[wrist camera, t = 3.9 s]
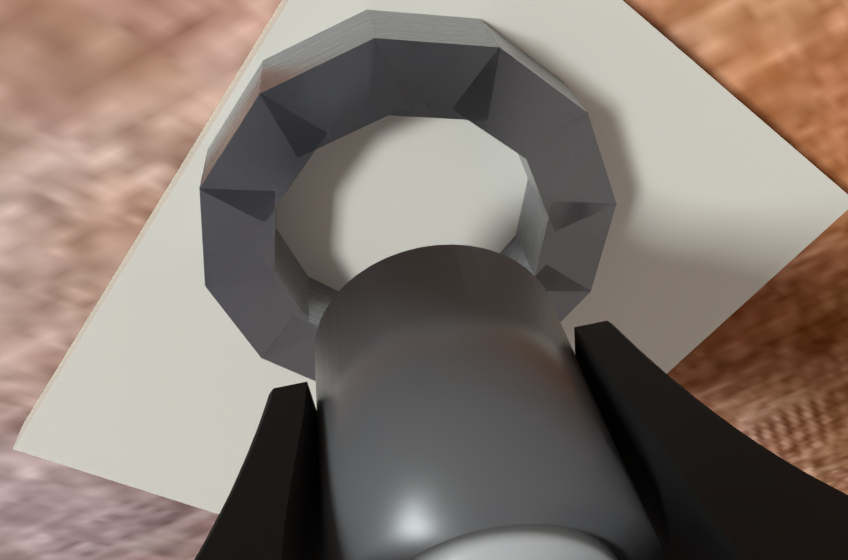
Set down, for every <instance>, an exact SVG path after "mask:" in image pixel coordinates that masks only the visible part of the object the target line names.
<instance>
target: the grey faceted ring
mask: <svg viewBox="0 0 848 560" xmlns="http://www.w3.org/2000/svg"><path fill="white" fill-rule="evenodd" d="M388 115H391V116H409V117H427V118H445V119H463V120H469V121H470V122H472V123H473V124H475V125H476V126H478V127H479V128H481V129H482V130H484V131H485V132H487V133H488V134H490V135H491V136H493V137H494V138H496V139H497V140H499V141H500V142H502V143H503V144H505V145H506V146H507V147H509V148H510V149H512V150H513V151H515V152H516V153H518V155H519V157H520V160H521V162H522V165H523V168H524V170H525V173H526V175H527V178H528V180H527V185H526V189H525V194H524V199H523V203H522V208H521V213H520V217H519V222H518V227H517V231H516V235H515V236H514V237H513V239H512V240H511V241H510V242H509V243H508V244H507V245H506V247H505V248H504V249H503V250H502V251H501V252H500V254H503V255H505V256H507V257H509V258H511V259H513V260H515V261H516V262H518V263H519V264H521V265H522V266H524V267H525V268H527V269H528V270H529V271H530V272H531V273H532V274H533V275H534V276H535V277H536V278H537V279H538V280H539V282H540V283H541V284H542V286H543V287H544V289H545V290H546V292H547V294H548V296H549V298H550V300H551V302H552V304H553V307H554V309H555V311H556V313H557V316H558V318H559V320H560V322H561V321H562V320H563V319H564V318H565V317H566V316H567V315H568V314H569V313H570V312H571V311H572V310H573V309H574V308H575V307H576V306H577V305H578V304H579V303H580V302H581V301H582V300H583V299H584V298H585V297H586V296H587V295H588V294H589V293H590V292H591V289H592V285H593V282H594V279H595V275H596V272H597V268H598V265H599V262H600V258H601V255H602V251H603V248H604V245H605V241H606V238H607V235H608V231H609V228H610V224H611V221H612V218H613V214H614V211H615V207H616V205H617V203H616V201H615V198H614V194H613V191H612V188H611V185H610V182H609V179H608V175H607V172H606V169H605V166H604V163H603V160H602V156H601V153H600V150H599V147H598V144H597V140H596V137H595V134H594V131H593V128H592V125H591V121H590V118H589V115H588V112H587V111H586V110H585V108H584V107H583V106H582V105H581V103H580V102H579V101H578V100H577V98H576V97H575V96H574V95H573V93H572V92H571V91H570V90H569V88H568V87H567V86H566V85H565V83H564V82H563V81H562V80H561V79H559V78H558V77H557V76H555V75H554V74H553V73H551V72H550V71H549V70H548V69H546V68H545V67H544V66H542V65H541V64H540V63H538V62H537V61H536V60H534V59H533V58H532V57H530V56H529V55H528V54H526V53H525V52H524V51H522V50H521V49H520V48H518V47H517V46H516V45H514V44H513V43H512V42H510V41H509V40H508V39H506V38H505V37H504V36H502V35H501V34H500V33H499V32H497V31H496V30H495V29H493V28H492V27H491V26H489V25H488V24H487V23H485V22H484V21H483V20H481V19H477V18H465V17H453V16H440V15H428V14H416V13H403V12H391V11H378V10H365V11H363V12H361V13H359V14H356V15H354V16H352V17H350V18H348V19H346V20H344V21H342V22H340V23H338V24H336V25H334V26H332V27H330V28H328V29H326V30H324V31H322V32H320V33H318V34H316V35H314V36H312V37H309V38H307V39H305V40H303V41H301V42H299V43H297V44H295V45H293V46H291V47H289V48H287V49H285V50H283V51H281V52H279V53H277V54H275V55H273V56H271V57H269V58H267V59H265V60H263V61H262V63H261V64H260V66H259V68H258V69H257V71H256V72H255V74H254V76H253V77H252V79H251V80H250V82H249V84H248V85H247V87H246V88H245V90H244V92H243V93H242V95H241V97H240V98H239V100H238V101H237V103H236V105H235V106H234V108H233V109H232V111H231V113H230V114H229V116H228V117H227V119H226V121H225V122H224V124H223V125H222V127H221V129H220V130H219V132H218V134H217V135H216V137H215V138H214V140H213V142H212V143H211V145H210V146H209V148H208V150H207V155H206V160H205V164H204V169H203V174H202V178H201V183H200V188H199V190H200V208H201V225H202V243H203V260H204V278H205V287H206V288H207V289H208V291H209V292H210V293H211V294H212V296H213V297H214V298H215V300H216V301H217V302H218V303H219V305H220V306H221V307H222V308H223V310H224V311H225V312H226V314H227V315H228V316H229V317H230V319H231V320H232V321H233V323H234V324H235V325H236V326H237V328H238V329H239V330H240V331H241V333H242V334H243V335H244V337H245V338H246V339H247V340H248V342H249V343H250V344H251V346H252V347H253V348H254V349H255V351H256V352H257V353H258V354H259V356H260V357H261V358H262V359H264V360H267V361H269V362H272V363H274V364H276V365H279V366H281V367H283V368H286V369H288V370H290V371H293V372H295V373H297V374H300V375H302V376H304V377H307V378H309V379H311V380H314V381H316V379H315V352H314V345H315V337H316V332H317V329H318V325H319V322H320V320H321V318H322V316H323V314H324V312H325V309H326V308H327V306H328V305H329V303H330V302H331V301H332V299H333V298H334V296H335V295H336V294H337V293H338V292H339V291H337V290H335V289H333V288H331V287H328V286H326V285H324V284H322V283H320V282H318V281H316V280H314V279H312V278H310V277H308V275H307V274H306V272H305V271H304V269H303V268H302V266H301V265H300V263H299V262H298V260H297V259H296V257H295V256H294V254H293V253H292V251H291V250H290V248H289V247H288V245H287V244H286V242H285V241H284V239H283V238H282V236H281V235H280V233H279V232H278V230H277V229H276V206H277V205H278V203H279V202H280V201H281V199H282V198H283V196H284V195H285V193H286V192H287V190H288V189H289V188H290V186H291V185H292V183H293V182H294V180H295V179H296V178H297V176H298V175H299V173H300V172H301V170H302V169H303V167H304V166H305V165H306V163H307V162H308V160H309V159H310V157H311V156H312V155H313V153H314V152H315V150H316V149H318V148H320V147H322V146H324V145H326V144H329V143H331V142H333V141H335V140H337V139H339V138H341V137H343V136H346V135H348V134H350V133H352V132H354V131H356V130H358V129H361V128H363V127H365V126H367V125H369V124H371V123H373V122H376V121H378V120H380V119H382V118H384V117H386V116H388Z"/></svg>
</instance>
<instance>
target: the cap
mask: <svg viewBox="0 0 848 560" xmlns="http://www.w3.org/2000/svg"><path fill="white" fill-rule="evenodd" d="M314 352H315V379H316V406H317V432H318V459H319V486H320V513H321V540H322V560H664V555H663V551H662V548H661V544H660V542H659V540H658V537H657V535H656V533H655V531H654V529H653V526H652V524H651V522H650V520H649V517H648V515H647V513H646V511H645V509H644V506H643V504H642V502H641V500H640V497H639V495H638V493H637V491H636V489H635V486H634V484H633V482H632V480H631V478H630V475H629V473H628V471H627V469H626V466H625V464H624V462H623V460H622V458H621V455H620V453H619V451H618V449H617V446H616V444H615V442H614V440H613V438H612V435H611V433H610V431H609V429H608V426H607V424H606V422H605V420H604V418H603V415H602V413H601V411H600V409H599V407H598V404H597V402H596V400H595V398H594V395H593V393H592V391H591V389H590V387H589V384H588V382H587V380H586V378H585V375H584V373H583V371H582V369H581V367H580V364H579V362H578V360H577V358H576V356H575V353H574V351H573V349H572V347H571V344H570V342H569V340H568V338H567V336H566V333H565V331H564V329H563V327H562V324H561V322H560V320H559V318H558V316H557V313H556V311H555V309H554V307H553V304H552V302H551V300H550V298H549V296H548V294H547V292H546V290H545V289H544V287H543V286H542V284H541V283H540V282H539V280H538V279H537V278H536V277H535V276H534V275H533V274H532V273H531V272H530V271H529V270H528V269H527V268H525V267H524V266H522V265H521V264H519V263H518V262H516V261H515V260H513V259H511V258H509V257H507V256H505V255H503V254H500V253H497V252H494V251H491V250H488V249H485V248H480V247H474V246H468V245H455V244H450V245H433V246H426V247H419V248H415V249H411V250H407V251H404V252H400V253H398V254H395V255H392V256H390V257H387V258H385V259H383V260H381V261H379V262H377V263H375V264H373V265H371V266H369V267H368V268H366V269H365V270H363V271H362V272H360V273H359V274H357V275H356V276H355V277H354V278H352V279H351V280H350V281H349V282H348V283H347V284H345V285H344V286H343V287H342V289H341V290H340V291H339V292H338V293H337V294H336V295H335V296H334V298H333V299H332V301H331V302H330V303H329V305H328V306H327V308H326V309H325V312H324V314H323V316H322V318H321V320H320V322H319V325H318V329H317V332H316V337H315V345H314Z"/></svg>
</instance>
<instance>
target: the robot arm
mask: <svg viewBox="0 0 848 560" xmlns="http://www.w3.org/2000/svg"><path fill="white" fill-rule="evenodd" d="M574 337H575V356H576V358H577V360H578V362H579V364H580V367H581V369H582V371H583V373H584V375H585V378H586V380H587V382H588V384H589V387H590V389H591V391H592V393H593V395H594V398H595V400H596V402H597V404H598V407H599V409H600V411H601V413H602V415H603V418H604V420H605V422H606V424H607V426H608V429H609V431H610V433H611V435H612V438H613V440H614V442H615V444H616V446H617V449H618V451H619V453H620V455H621V458H622V460H623V462H624V464H625V466H626V469H627V471H628V473H629V475H630V478H631V480H632V482H633V484H634V486H635V489H636V491H637V493H638V495H639V497H640V500H641V502H642V504H643V506H644V509H645V511H646V513H647V515H648V517H649V520H650V522H651V524H652V526H653V529H654V531H655V533H656V535H657V537H658V540H659V542H660V544H661V548H662V551H663V555H664V560H848V495H846V494H844V493H843V492H841V491H839V490H837V489H835V488H833V487H831V486H829V485H827V484H825V483H824V482H822V481H820V480H818V479H816V478H814V477H812V476H810V475H808V474H807V473H805V472H803V471H802V470H800V469H798V468H797V467H795V466H793V465H791V464H790V463H788V462H786V461H785V460H783V459H781V458H780V457H778V456H777V455H775V454H774V453H772V452H770V451H769V450H767V449H766V448H764V447H763V446H761V445H759V444H758V443H756V442H755V441H754V440H752V439H751V438H749V437H748V436H746V435H745V434H743V433H742V432H740V431H739V430H738V429H736V428H735V427H733V426H732V425H731V424H729V423H728V422H727V421H725V420H724V419H723V418H721V417H720V416H718V415H717V414H716V413H714V412H713V411H712V410H710V409H709V408H708V407H707V406H705V405H704V404H703V403H701V402H700V401H699V400H698V399H696V398H695V397H694V396H693V395H691V394H690V393H689V392H688V391H687V390H685V389H684V388H683V387H682V386H681V385H679V384H678V383H677V382H676V381H674V380H673V379H672V378H671V377H670V376H669V375H667V374H666V373H665V372H664V371H663V370H662V369H660V368H659V367H658V366H657V365H656V364H655V363H654V362H653V361H652V360H650V359H649V358H648V357H647V356H646V355H645V354H644V353H643V352H642V351H640V350H639V349H638V348H637V347H636V346H635V345H634V344H633V343H632V342H631V341H630V340H629V339H628V338H627V337H626V336H625V335H623V334H622V333H621V332H620V331H619V330H618V329H617V328H616V327H615V326H614V325H613V324H612V323H610V322H609V321H602V322H598V323H593V324H588V325H583V326H578V327H574ZM195 560H322V540H321V513H320V486H319V459H318V432H317V410H316V407H315V404H314V401H313V398H312V395H311V392H310V389H309V386H308V383H307V382H302V383H297V384H292V385H287V386H283V387H278V388H273V390H272V391H271V392H270V394H269V396H268V399H267V402H266V405H265V408H264V411H263V414H262V417H261V420H260V423H259V425H258V428H257V431H256V433H255V436H254V438H253V441H252V443H251V446H250V448H249V451H248V453H247V456H246V458H245V460H244V462H243V465H242V467H241V469H240V472H239V474H238V476H237V478H236V481H235V483H234V485H233V487H232V490H231V492H230V494H229V496H228V498H227V500H226V502H225V504H224V506H223V508H222V510H221V512H220V514H219V515H218V517H217V519H216V521H215V523H214V525H213V527H212V529H211V531H210V533H209V535H208V537H207V539H206V540H205V542H204V544H203V546H202V547H201V549H200V551H199V553H198V554H197V556H196V558H195Z"/></svg>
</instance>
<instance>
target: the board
mask: <svg viewBox="0 0 848 560" xmlns="http://www.w3.org/2000/svg"><path fill="white" fill-rule="evenodd" d="M365 10H378V11H391V12H403V13H416V14H428V15H440V16H453V17H465V18H477V19H481V20H483V21H484V22H485V23H487V24H488V25H489V26H491V27H492V28H493V29H495V30H496V31H497V32H499V33H500V34H501V35H502V36H504V37H505V38H506V39H508V40H509V41H510V42H512V43H513V44H514V45H516V46H517V47H518V48H520V49H521V50H522V51H524V52H525V53H526V54H528V55H529V56H530V57H532V58H533V59H534V60H536V61H537V62H538V63H540V64H541V65H542V66H544V67H545V68H546V69H548V70H549V71H550V72H551V73H553V74H554V75H555V76H557V77H558V78H559V79H561V80H562V81H563V82H564V83H565V85H566V86H567V87H568V88H569V90H570V91H571V92H572V93H573V95H574V96H575V97H576V98H577V100H578V101H579V102H580V103H581V105H582V106H583V107H584V108H585V110H586V111H587V112H588V115H589V118H590V121H591V125H592V128H593V131H594V134H595V137H596V140H597V144H598V147H599V150H600V153H601V156H602V160H603V163H604V166H605V169H606V172H607V175H608V179H609V182H610V185H611V188H612V191H613V194H614V198H615V201H616V203H617V205H616V207H615V211H614V214H613V218H612V221H611V224H610V228H609V231H608V235H607V238H606V241H605V245H604V248H603V251H602V255H601V258H600V262H599V265H598V268H597V272H596V275H595V279H594V282H593V285H592V289H591V292H590V293H589V294H588V295H587V296H586V297H585V298H584V299H583V300H582V301H581V302H580V303H579V304H578V305H577V306H576V307H575V308H574V309H573V310H572V311H571V312H570V313H569V314H568V315H567V316H566V317H565V318H564V319H563V320H562V321H561V324H562V327H563V329H564V331H565V333H566V336H567V338H568V340H569V342H570V344H571V347H572V349H573V351H574V353H575V337H574V327H578V326H583V325H588V324H593V323H598V322H602V321H609V322H610V323H612V324H613V325H614V326H615V327H616V328H617V329H618V330H619V331H620V332H621V333H622V334H623V335H625V336H626V337H627V338H628V339H629V340H630V341H631V342H632V343H633V344H634V345H635V346H636V347H637V348H638V349H639V350H640V351H642V352H643V353H644V354H645V355H646V356H647V357H648V358H649V359H650V360H652V361H653V362H654V363H655V364H656V365H657V366H658V367H659V368H660V369H662V370H663V371H664V372H665V373H666V374H667V373H668V372H669V371H670V370H671V369H673V368H674V367H675V366H676V365H677V364H678V363H679V362H680V361H681V360H682V359H684V358H685V357H686V356H687V355H688V354H689V353H690V352H691V351H692V350H693V349H695V348H696V347H697V346H698V345H699V344H700V343H701V342H702V341H703V340H704V339H706V338H707V337H708V336H709V335H710V334H711V333H712V332H713V331H714V330H715V329H717V328H718V327H719V326H720V325H721V324H722V323H723V322H724V321H725V320H727V319H728V318H729V317H730V316H731V315H732V314H733V313H734V312H735V311H736V310H738V309H739V308H740V307H741V306H742V305H743V304H744V303H745V302H746V301H747V300H749V299H750V298H751V297H752V296H753V295H754V294H755V293H756V292H757V291H758V290H760V289H761V288H762V287H763V286H764V285H765V284H766V283H767V282H768V281H769V280H771V279H772V278H773V277H774V276H775V275H776V274H777V273H778V272H779V271H780V270H782V269H783V268H784V267H785V266H786V265H787V264H788V263H789V262H790V261H791V260H793V259H794V258H795V257H796V256H797V255H798V254H799V253H800V252H801V251H802V250H804V249H805V248H806V247H807V246H808V245H809V244H810V243H811V242H812V241H814V240H815V239H816V238H817V237H818V236H819V235H820V234H821V233H822V232H823V231H825V230H826V229H827V228H828V227H829V226H830V225H831V224H832V223H833V222H834V221H836V220H837V219H838V218H839V217H840V216H841V215H842V214H843V213H844V212H845V211H847V210H848V194H847V193H846V192H844V191H843V190H842V189H841V188H840V187H839V186H837V185H836V184H835V183H834V182H833V181H832V180H830V179H829V178H828V177H827V176H826V175H825V174H824V173H822V172H821V171H820V170H819V169H818V168H817V167H815V166H814V165H813V164H812V163H811V162H810V161H808V160H807V159H806V158H805V157H804V156H803V155H802V154H800V153H799V152H798V151H797V150H796V149H795V148H793V147H792V146H791V145H790V144H789V143H788V142H786V141H785V140H784V139H783V138H782V137H781V136H779V135H778V134H777V133H776V132H775V131H774V130H773V129H771V128H770V127H769V126H768V125H767V124H766V123H764V122H763V121H762V120H761V119H760V118H759V117H757V116H756V115H755V114H754V113H753V112H752V111H750V110H749V109H748V108H747V107H746V106H745V105H744V104H742V103H741V102H740V101H739V100H738V99H737V98H735V97H734V96H733V95H732V94H731V93H730V92H728V91H727V90H726V89H725V88H724V87H723V86H722V85H720V84H719V83H718V82H717V81H716V80H715V79H713V78H712V77H711V76H710V75H709V74H708V73H706V72H705V71H704V70H703V69H702V68H701V67H699V66H698V65H697V64H696V63H695V62H694V61H693V60H691V59H690V58H689V57H688V56H687V55H686V54H684V53H683V52H682V51H681V50H680V49H679V48H677V47H676V46H675V45H674V44H673V43H672V42H670V41H669V40H668V39H667V38H666V37H665V36H664V35H662V34H661V33H660V32H659V31H658V30H657V29H655V28H654V27H653V26H652V25H651V24H650V23H648V22H647V21H646V20H645V19H644V18H643V17H642V16H640V15H639V14H638V13H637V12H636V11H635V10H633V9H632V8H631V7H630V6H629V5H628V4H626V3H625V2H624V1H623V0H282V1H281V2H280V4H279V6H278V7H277V9H276V11H275V12H274V14H273V16H272V17H271V19H270V20H269V22H268V24H267V25H266V27H265V29H264V30H263V32H262V34H261V35H260V37H259V38H258V40H257V42H256V43H255V45H254V47H253V48H252V50H251V52H250V53H249V55H248V56H247V58H246V60H245V61H244V63H243V65H242V66H241V68H240V70H239V71H238V73H237V75H236V76H235V78H234V79H233V81H232V83H231V84H230V86H229V88H228V89H227V91H226V93H225V94H224V96H223V97H222V99H221V101H220V102H219V104H218V106H217V107H216V109H215V111H214V112H213V114H212V115H211V117H210V119H209V120H208V122H207V124H206V125H205V127H204V129H203V130H202V132H201V134H200V135H199V137H198V138H197V140H196V142H195V143H194V145H193V147H192V148H191V150H190V152H189V153H188V155H187V156H186V158H185V160H184V161H183V163H182V165H181V166H180V168H179V170H178V171H177V173H176V174H175V176H174V178H173V179H172V181H171V183H170V184H169V186H168V188H167V189H166V191H165V193H164V194H163V196H162V197H161V199H160V201H159V202H158V204H157V206H156V207H155V209H154V211H153V212H152V214H151V215H150V217H149V219H148V220H147V222H146V224H145V225H144V227H143V229H142V230H141V232H140V233H139V235H138V237H137V238H136V240H135V242H134V243H133V245H132V247H131V248H130V250H129V252H128V253H127V255H126V256H125V258H124V260H123V261H122V263H121V265H120V266H119V268H118V270H117V271H116V273H115V274H114V276H113V278H112V279H111V281H110V283H109V284H108V286H107V288H106V289H105V291H104V292H103V294H102V296H101V297H100V299H99V301H98V302H97V304H96V306H95V307H94V309H93V311H92V312H91V314H90V315H89V317H88V319H87V320H86V322H85V324H84V325H83V327H82V329H81V330H80V332H79V333H78V335H77V337H76V338H75V340H74V342H73V343H72V345H71V347H70V348H69V350H68V351H67V353H66V355H65V356H64V358H63V360H62V361H61V363H60V365H59V366H58V368H57V370H56V371H55V373H54V374H53V376H52V378H51V379H50V381H49V383H48V384H47V386H46V388H45V389H44V391H43V392H42V394H41V396H40V397H39V399H38V401H37V402H36V404H35V406H34V407H33V409H32V410H31V412H30V414H29V415H28V417H27V419H26V420H25V422H24V424H23V426H22V428H21V431H20V433H19V436H18V438H17V441H16V443H15V446H14V448H13V449H14V450H17V451H21V452H24V453H27V454H30V455H33V456H36V457H40V458H43V459H46V460H49V461H52V462H55V463H58V464H62V465H65V466H68V467H71V468H74V469H77V470H81V471H84V472H87V473H90V474H93V475H96V476H100V477H103V478H106V479H109V480H112V481H115V482H119V483H122V484H125V485H128V486H131V487H134V488H138V489H141V490H144V491H147V492H150V493H153V494H157V495H160V496H163V497H166V498H169V499H172V500H175V501H179V502H182V503H185V504H188V505H191V506H194V507H198V508H201V509H204V510H207V511H210V512H213V513H217V514H220V512H221V510H222V508H223V506H224V504H225V502H226V500H227V498H228V496H229V494H230V492H231V490H232V487H233V485H234V483H235V481H236V478H237V476H238V474H239V472H240V469H241V467H242V465H243V462H244V460H245V458H246V456H247V453H248V451H249V448H250V446H251V443H252V441H253V438H254V436H255V433H256V431H257V428H258V425H259V423H260V420H261V417H262V414H263V411H264V408H265V405H266V402H267V399H268V396H269V394H270V392H271V391H272V390H273V388H278V387H283V386H287V385H292V384H297V383H302V382H307V383H308V386H309V389H310V392H311V395H312V398H313V401H314V404H315V407H316V410H317V406H316V381H314V380H311V379H309V378H307V377H304V376H302V375H300V374H297V373H295V372H293V371H290V370H288V369H286V368H283V367H281V366H279V365H276V364H274V363H272V362H269V361H267V360H264V359H262V358H261V357H260V356H259V354H258V353H257V352H256V351H255V349H254V348H253V347H252V346H251V344H250V343H249V342H248V340H247V339H246V338H245V337H244V335H243V334H242V333H241V331H240V330H239V329H238V328H237V326H236V325H235V324H234V323H233V321H232V320H231V319H230V317H229V316H228V315H227V314H226V312H225V311H224V310H223V308H222V307H221V306H220V305H219V303H218V302H217V301H216V300H215V298H214V297H213V296H212V294H211V293H210V292H209V291H208V289H207V288H206V287H205V278H204V260H203V243H202V225H201V208H200V190H199V188H200V183H201V178H202V174H203V169H204V164H205V160H206V155H207V150H208V148H209V146H210V145H211V143H212V142H213V140H214V138H215V137H216V135H217V134H218V132H219V130H220V129H221V127H222V125H223V124H224V122H225V121H226V119H227V117H228V116H229V114H230V113H231V111H232V109H233V108H234V106H235V105H236V103H237V101H238V100H239V98H240V97H241V95H242V93H243V92H244V90H245V88H246V87H247V85H248V84H249V82H250V80H251V79H252V77H253V76H254V74H255V72H256V71H257V69H258V68H259V66H260V64H261V63H262V61H263V60H265V59H267V58H269V57H271V56H273V55H275V54H277V53H279V52H281V51H283V50H285V49H287V48H289V47H291V46H293V45H295V44H297V43H299V42H301V41H303V40H305V39H307V38H309V37H312V36H314V35H316V34H318V33H320V32H322V31H324V30H326V29H328V28H330V27H332V26H334V25H336V24H338V23H340V22H342V21H344V20H346V19H348V18H350V17H352V16H354V15H356V14H359V13H361V12H363V11H365ZM527 180H528V178H527V175H526V173H525V170H524V168H523V165H522V162H521V160H520V157H519V155H518V153H516V152H515V151H513V150H512V149H510V148H509V147H507V146H506V145H505V144H503V143H502V142H500V141H499V140H497V139H496V138H494V137H493V136H491V135H490V134H488V133H487V132H485V131H484V130H482V129H481V128H479V127H478V126H476V125H475V124H473V123H472V122H470V121H469V120H463V119H445V118H427V117H409V116H391V115H388V116H386V117H384V118H382V119H380V120H378V121H376V122H373V123H371V124H369V125H367V126H365V127H363V128H361V129H358V130H356V131H354V132H352V133H350V134H348V135H346V136H343V137H341V138H339V139H337V140H335V141H333V142H331V143H329V144H326V145H324V146H322V147H320V148H318V149H316V150H315V152H314V153H313V155H312V156H311V157H310V159H309V160H308V162H307V163H306V165H305V166H304V167H303V169H302V170H301V172H300V173H299V175H298V176H297V178H296V179H295V180H294V182H293V183H292V185H291V186H290V188H289V189H288V190H287V192H286V193H285V195H284V196H283V198H282V199H281V201H280V202H279V203H278V205H277V206H276V229H277V230H278V232H279V233H280V235H281V236H282V238H283V239H284V241H285V242H286V244H287V245H288V247H289V248H290V250H291V251H292V253H293V254H294V256H295V257H296V259H297V260H298V262H299V263H300V265H301V266H302V268H303V269H304V271H305V272H306V274H307V275H308V277H310V278H312V279H314V280H316V281H318V282H320V283H322V284H324V285H326V286H328V287H331V288H333V289H335V290H337V291H340V290H341V289H342V287H343V286H344V285H345V284H347V283H348V282H349V281H350V280H351V279H352V278H354V277H355V276H356V275H357V274H359V273H360V272H362V271H363V270H365V269H366V268H368V267H369V266H371V265H373V264H375V263H377V262H379V261H381V260H383V259H385V258H387V257H390V256H392V255H395V254H398V253H400V252H404V251H407V250H411V249H415V248H419V247H426V246H433V245H450V244H455V245H468V246H474V247H480V248H485V249H488V250H491V251H494V252H497V253H500V252H501V251H502V250H503V249H504V248H505V247H506V245H507V244H508V243H509V242H510V241H511V240H512V239H513V237H514V236H515V235H516V231H517V227H518V222H519V217H520V213H521V208H522V203H523V199H524V194H525V189H526V185H527Z"/></svg>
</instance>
